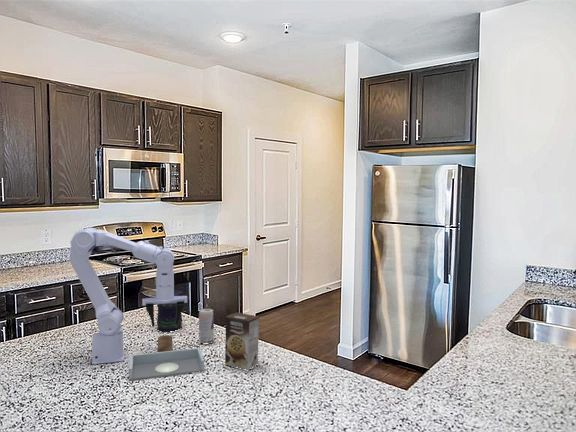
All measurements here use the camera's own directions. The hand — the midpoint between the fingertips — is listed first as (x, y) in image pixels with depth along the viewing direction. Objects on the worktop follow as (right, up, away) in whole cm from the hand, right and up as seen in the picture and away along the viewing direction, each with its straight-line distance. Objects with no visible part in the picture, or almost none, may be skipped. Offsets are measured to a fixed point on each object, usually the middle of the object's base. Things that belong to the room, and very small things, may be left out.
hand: (165, 324), depth 140 cm
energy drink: (+11, -10, +13) cm, 20 cm away
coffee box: (+27, -11, -7) cm, 30 cm away
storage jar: (-6, -9, +28) cm, 30 cm away
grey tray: (+4, -11, -11) cm, 16 cm away
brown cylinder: (0, -10, +1) cm, 10 cm away
